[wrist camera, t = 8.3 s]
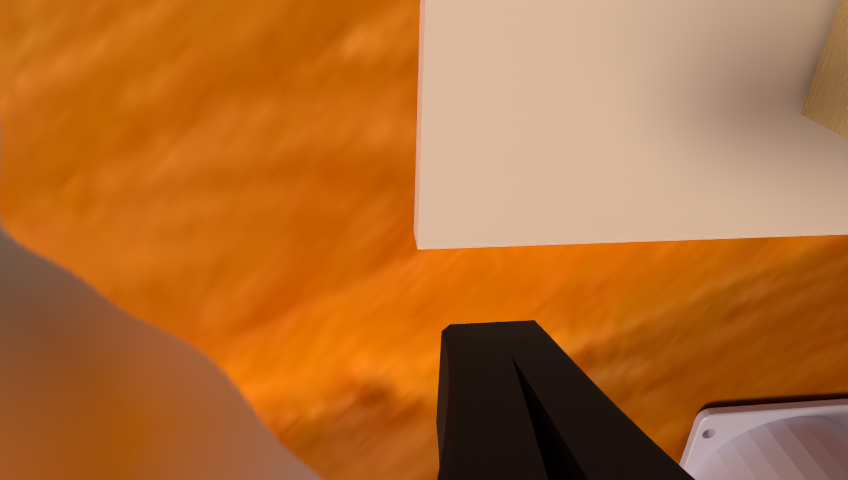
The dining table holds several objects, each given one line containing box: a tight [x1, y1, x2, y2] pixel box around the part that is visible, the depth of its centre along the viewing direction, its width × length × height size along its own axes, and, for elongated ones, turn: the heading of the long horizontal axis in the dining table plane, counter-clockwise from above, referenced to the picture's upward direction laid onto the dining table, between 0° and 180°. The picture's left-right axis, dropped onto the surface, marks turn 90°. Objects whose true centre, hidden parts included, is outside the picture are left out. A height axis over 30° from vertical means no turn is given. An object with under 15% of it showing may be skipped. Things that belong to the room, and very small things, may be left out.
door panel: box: [414, 0, 848, 249], centre depth 16 cm, size 12×16×1 cm
